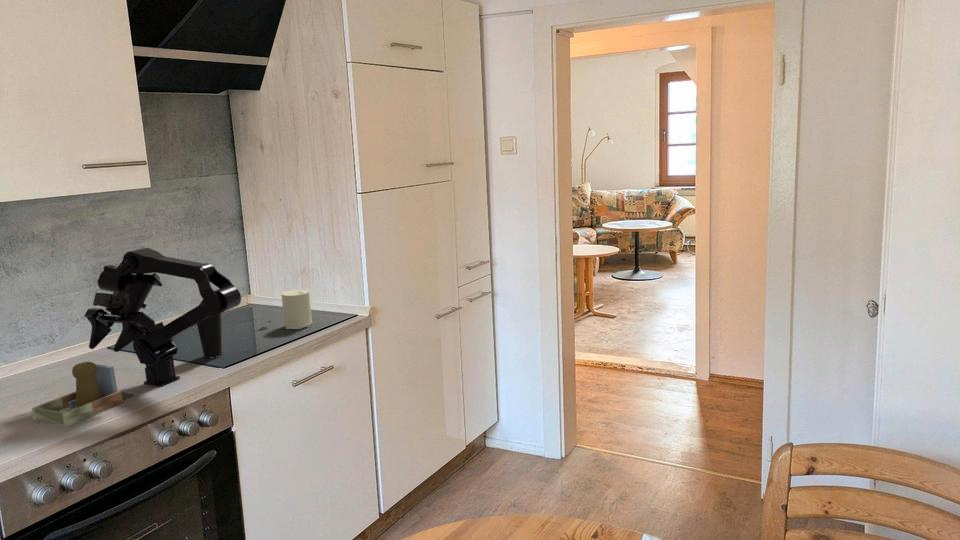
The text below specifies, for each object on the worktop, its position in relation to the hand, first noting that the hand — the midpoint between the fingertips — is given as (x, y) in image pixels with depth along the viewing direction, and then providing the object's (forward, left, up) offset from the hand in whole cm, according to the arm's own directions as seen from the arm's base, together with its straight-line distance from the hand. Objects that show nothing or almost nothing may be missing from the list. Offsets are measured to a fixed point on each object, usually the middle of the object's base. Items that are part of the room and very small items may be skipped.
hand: (102, 349), depth 171 cm
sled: (+4, 0, -13) cm, 13 cm away
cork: (+5, 0, -13) cm, 14 cm away
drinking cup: (-35, 0, -13) cm, 37 cm away
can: (-69, +4, -13) cm, 70 cm away
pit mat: (-2, 0, -13) cm, 13 cm away
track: (+8, 0, -13) cm, 15 cm away
